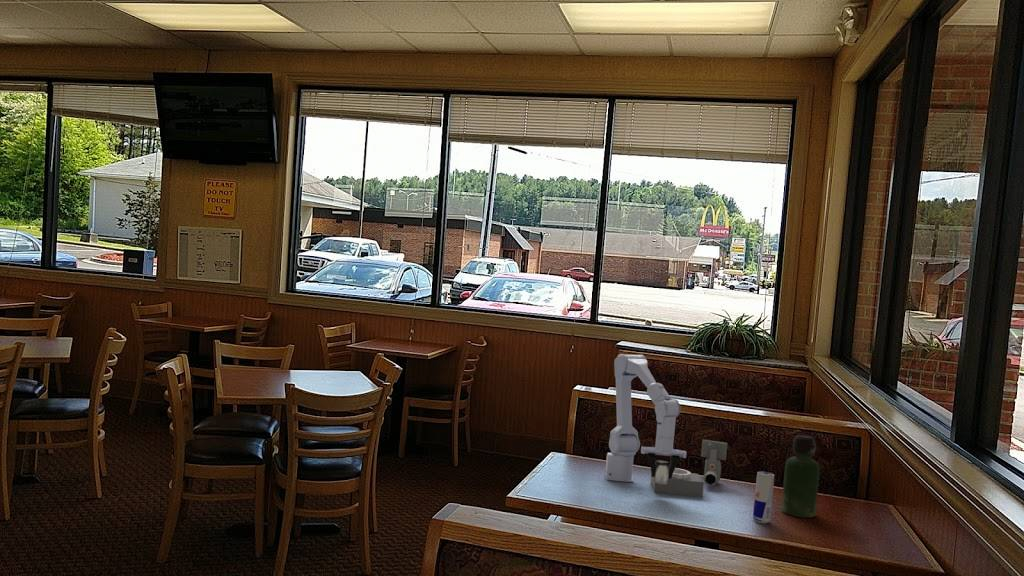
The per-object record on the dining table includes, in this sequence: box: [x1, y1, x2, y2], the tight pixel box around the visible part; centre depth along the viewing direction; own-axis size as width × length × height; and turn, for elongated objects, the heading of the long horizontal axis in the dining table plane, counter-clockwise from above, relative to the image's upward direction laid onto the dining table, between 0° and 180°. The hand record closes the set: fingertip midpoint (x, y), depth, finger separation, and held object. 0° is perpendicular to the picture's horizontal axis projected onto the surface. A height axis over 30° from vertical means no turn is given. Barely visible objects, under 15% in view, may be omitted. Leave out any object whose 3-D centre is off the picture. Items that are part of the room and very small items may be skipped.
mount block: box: [650, 467, 705, 498], centre depth 276 cm, size 16×11×6 cm
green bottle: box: [780, 434, 821, 519], centre depth 260 cm, size 10×10×25 cm
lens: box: [653, 459, 670, 484], centre depth 265 cm, size 5×5×7 cm
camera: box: [700, 439, 728, 487], centre depth 287 cm, size 9×12×15 cm
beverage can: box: [752, 471, 775, 524], centre depth 248 cm, size 5×5×15 cm
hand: (661, 477), depth 266 cm, fingers closed on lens, 5 cm apart
